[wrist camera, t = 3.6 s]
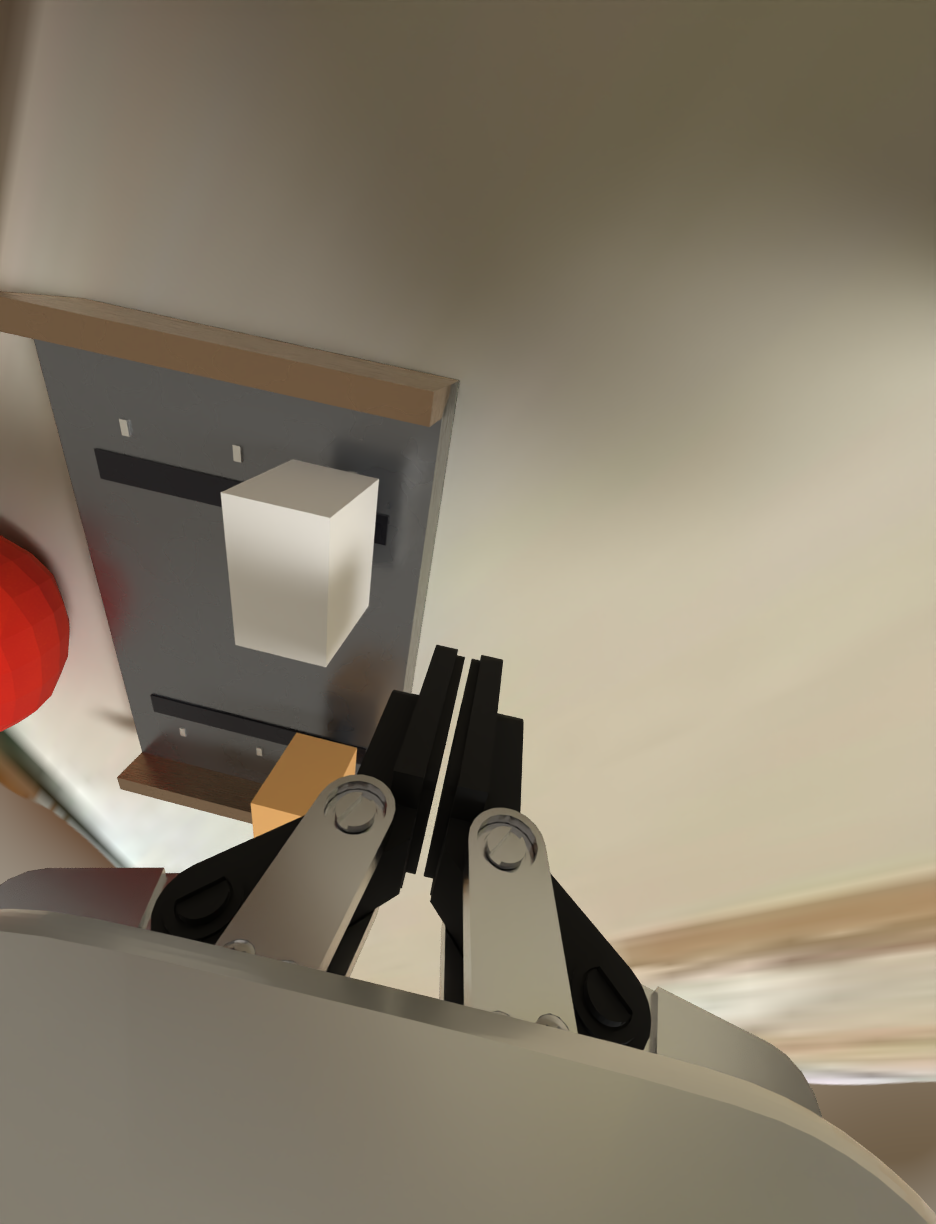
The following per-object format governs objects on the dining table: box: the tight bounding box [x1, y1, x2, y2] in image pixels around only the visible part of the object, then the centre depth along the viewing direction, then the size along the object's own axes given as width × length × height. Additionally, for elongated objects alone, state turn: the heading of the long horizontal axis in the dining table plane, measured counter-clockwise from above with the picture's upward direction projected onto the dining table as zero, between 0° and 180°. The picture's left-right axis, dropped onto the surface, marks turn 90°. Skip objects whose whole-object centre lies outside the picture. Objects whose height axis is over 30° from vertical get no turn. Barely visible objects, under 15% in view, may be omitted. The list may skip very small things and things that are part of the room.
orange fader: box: [251, 733, 357, 838], centre depth 23 cm, size 3×5×5 cm, turn 170°
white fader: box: [221, 459, 379, 667], centre depth 16 cm, size 3×5×5 cm, turn 170°
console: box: [0, 291, 460, 824], centre depth 22 cm, size 15×24×4 cm, turn 170°
